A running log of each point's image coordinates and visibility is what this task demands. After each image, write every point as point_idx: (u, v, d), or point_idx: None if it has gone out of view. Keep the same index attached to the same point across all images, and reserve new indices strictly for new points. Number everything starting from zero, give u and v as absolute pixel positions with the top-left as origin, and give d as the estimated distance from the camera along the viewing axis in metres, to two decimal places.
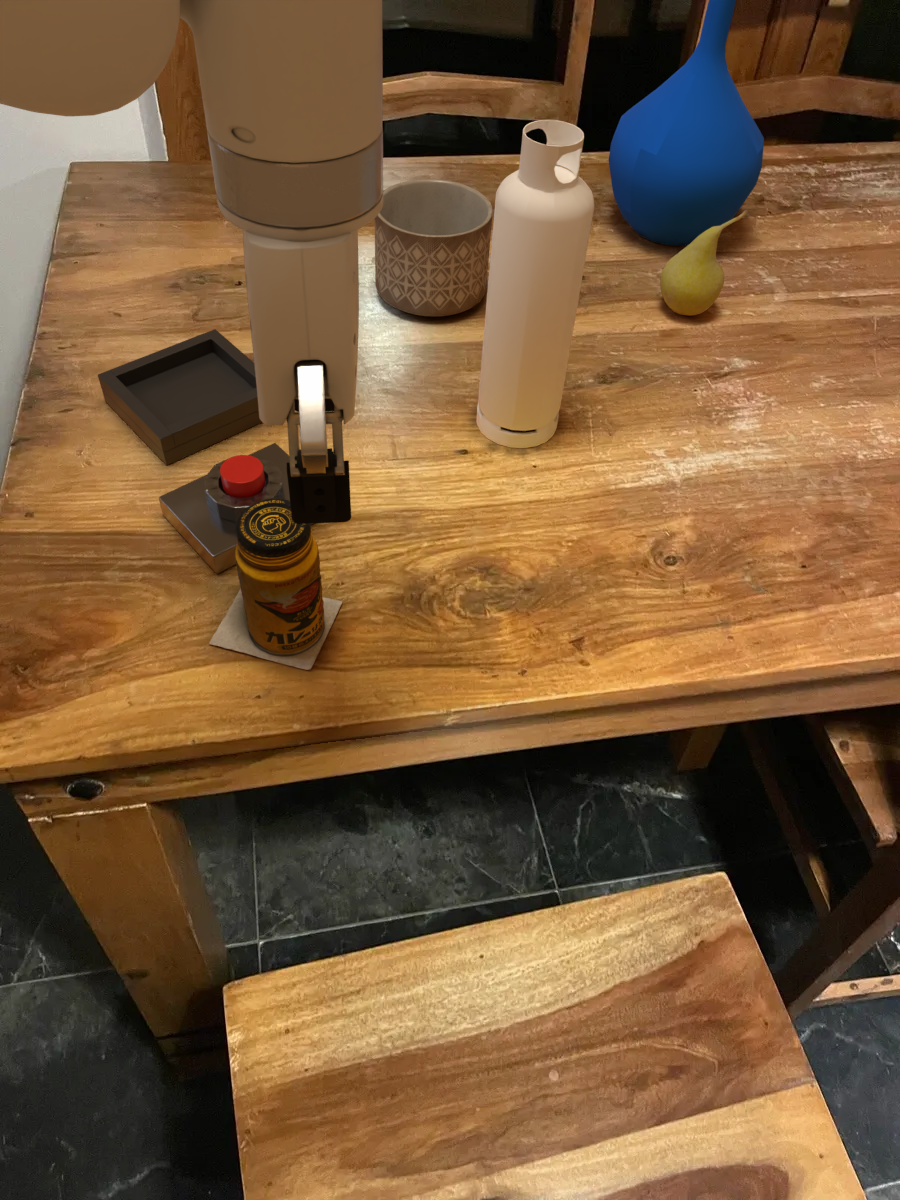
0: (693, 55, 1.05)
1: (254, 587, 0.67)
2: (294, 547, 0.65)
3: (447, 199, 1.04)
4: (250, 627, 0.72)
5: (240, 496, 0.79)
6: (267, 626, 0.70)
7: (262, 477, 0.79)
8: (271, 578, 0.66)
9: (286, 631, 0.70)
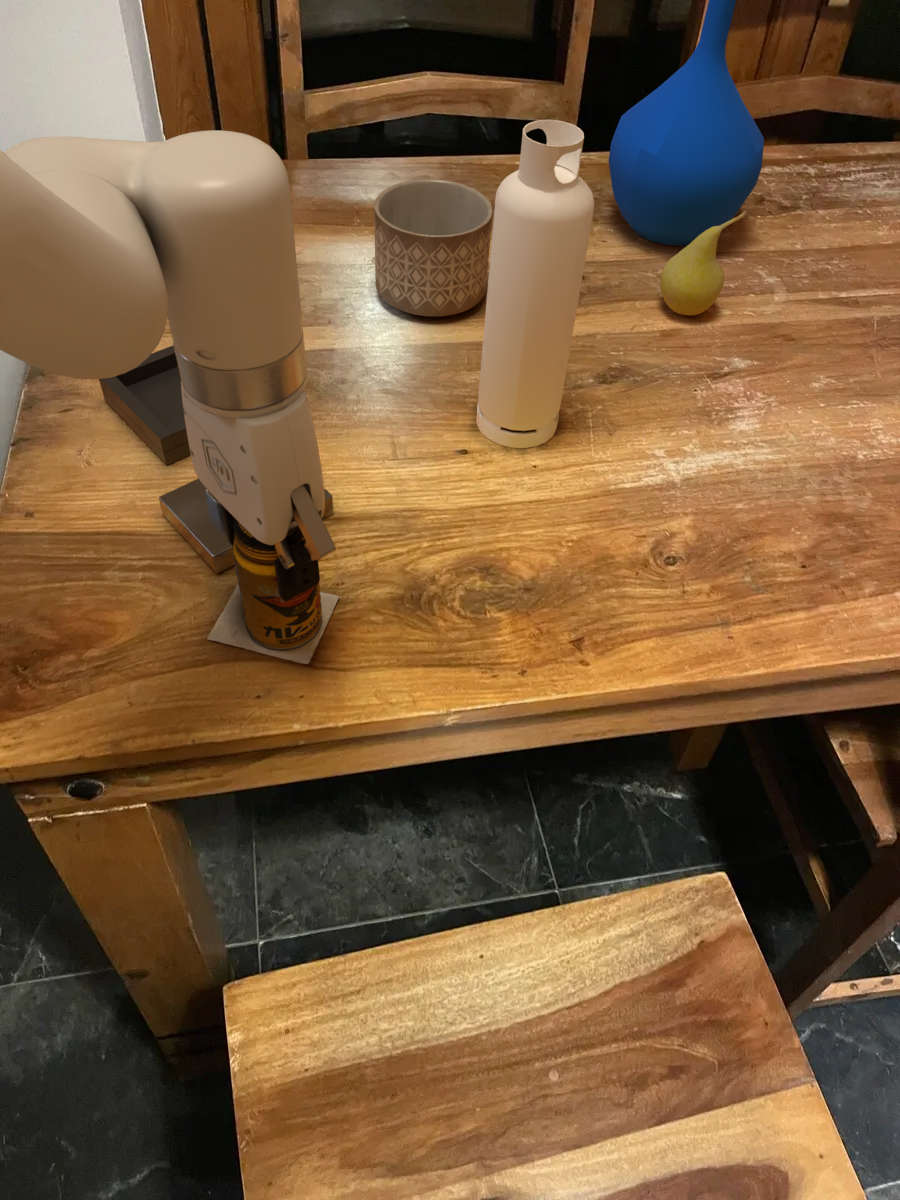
0: (693, 55, 1.05)
1: (252, 581, 0.67)
2: (291, 540, 0.65)
3: (447, 199, 1.04)
4: (248, 622, 0.72)
5: None
6: (265, 621, 0.70)
7: None
8: (269, 572, 0.66)
9: (284, 625, 0.71)
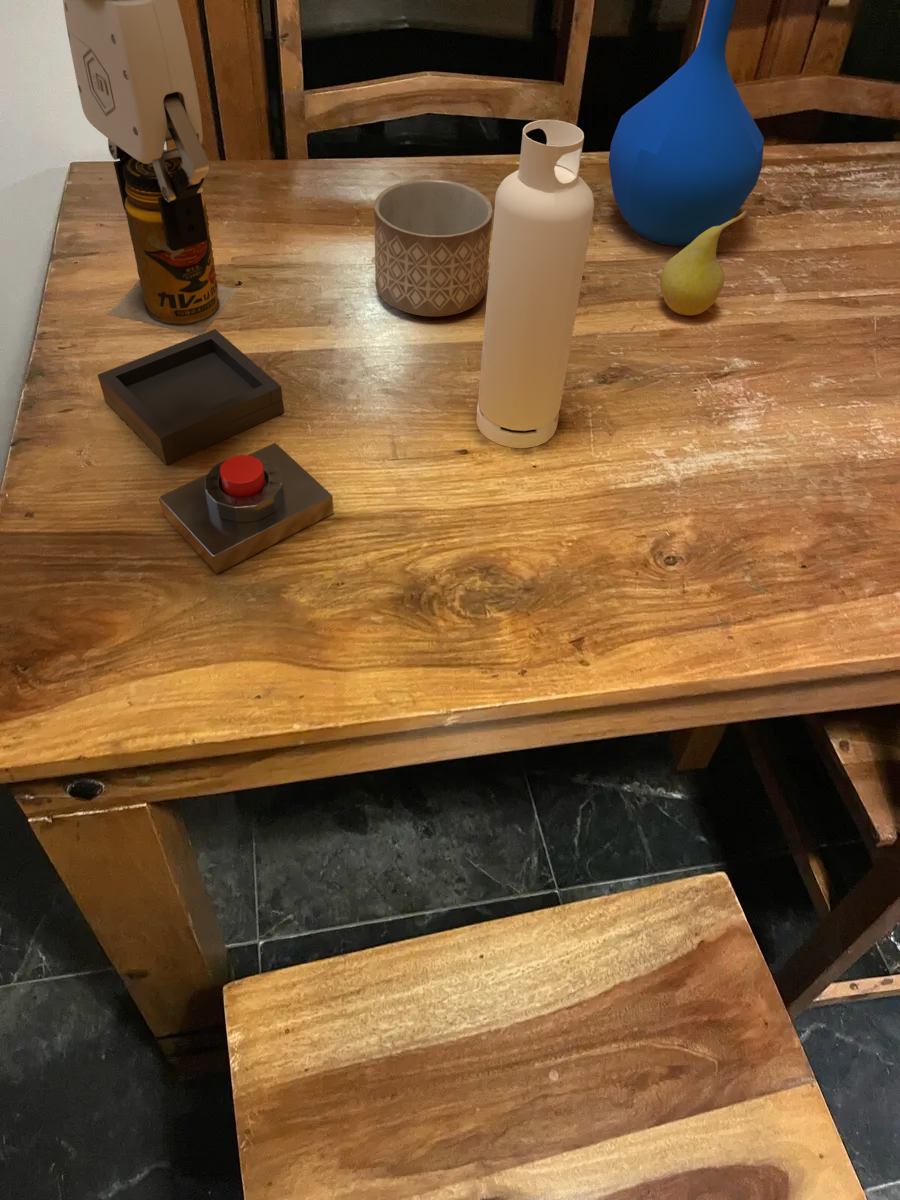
0: (693, 55, 1.05)
1: (142, 231, 0.70)
2: None
3: (447, 199, 1.04)
4: (145, 295, 0.76)
5: (240, 496, 0.79)
6: (158, 285, 0.74)
7: (262, 477, 0.79)
8: (157, 219, 0.70)
9: (177, 290, 0.74)
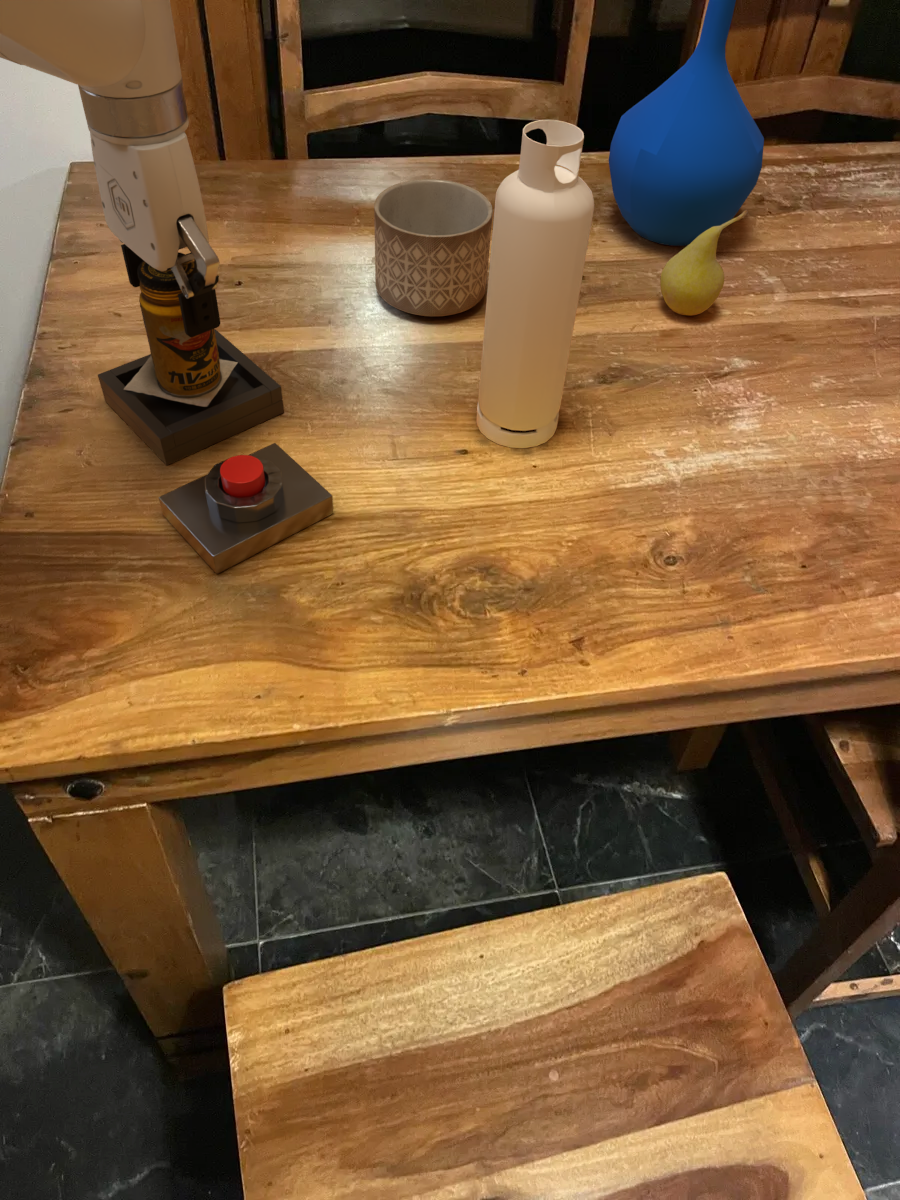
0: (693, 55, 1.05)
1: (154, 323, 0.82)
2: None
3: (446, 199, 1.04)
4: (157, 372, 0.87)
5: (240, 496, 0.79)
6: (169, 365, 0.85)
7: (262, 477, 0.79)
8: (167, 313, 0.81)
9: (185, 370, 0.85)
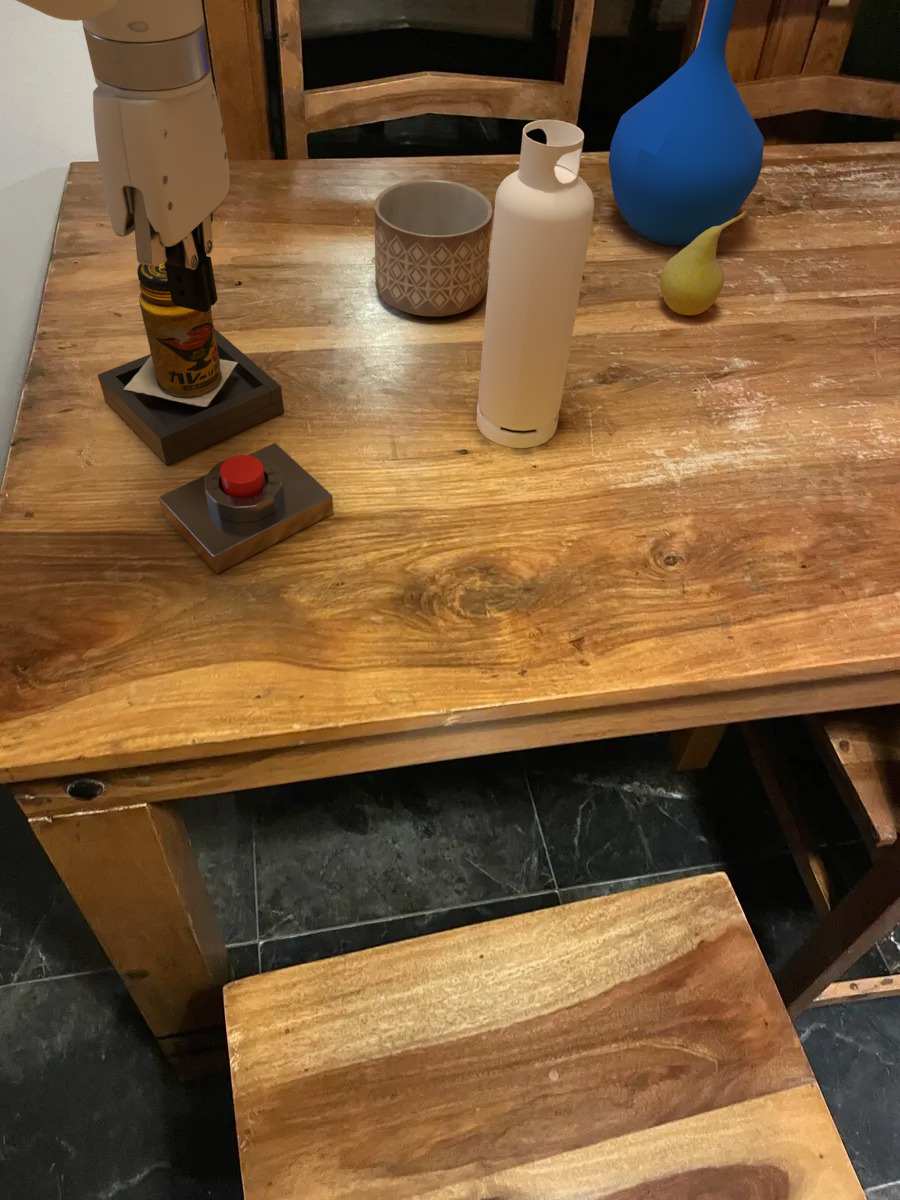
0: (693, 55, 1.05)
1: (154, 323, 0.82)
2: None
3: (447, 199, 1.04)
4: (157, 372, 0.87)
5: (240, 496, 0.79)
6: (169, 365, 0.85)
7: (262, 477, 0.79)
8: (167, 313, 0.81)
9: (185, 370, 0.85)
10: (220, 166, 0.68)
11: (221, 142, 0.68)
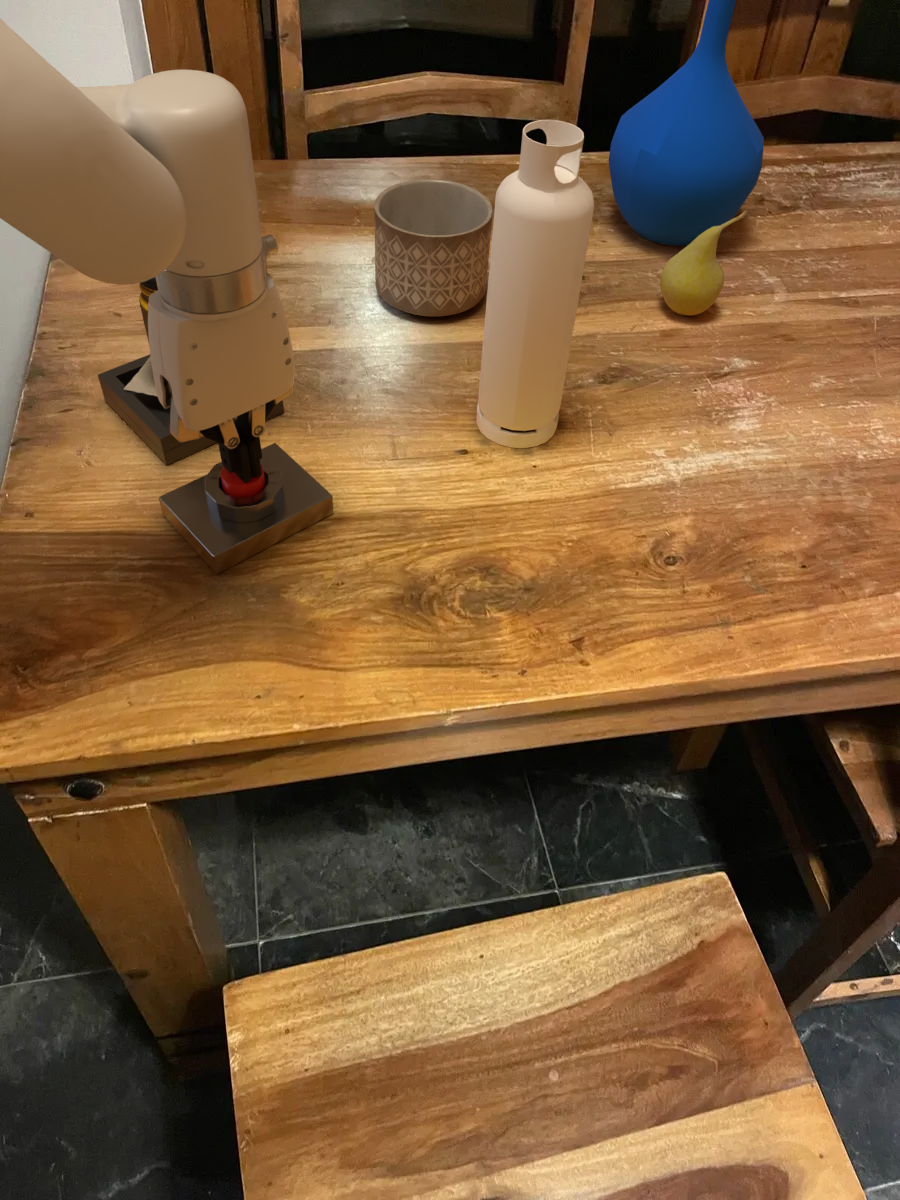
0: (693, 55, 1.05)
1: None
2: None
3: (447, 199, 1.04)
4: None
5: None
6: None
7: (262, 480, 0.79)
8: None
9: None
10: (277, 370, 0.72)
11: (281, 351, 0.71)
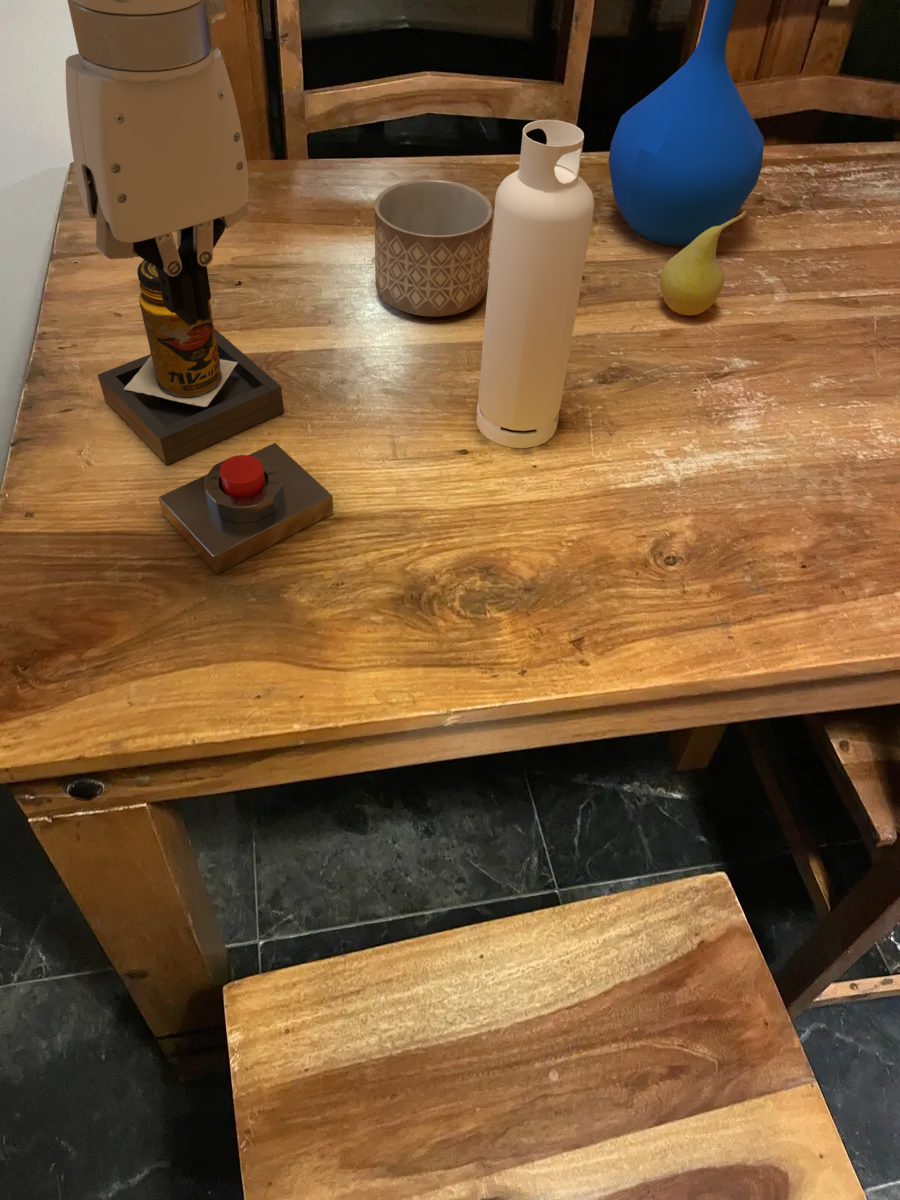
0: (693, 55, 1.05)
1: (154, 323, 0.82)
2: None
3: (447, 199, 1.04)
4: (157, 372, 0.87)
5: (240, 496, 0.79)
6: (169, 365, 0.85)
7: (262, 477, 0.79)
8: (167, 313, 0.81)
9: (185, 370, 0.85)
10: (226, 175, 0.60)
11: (230, 149, 0.59)
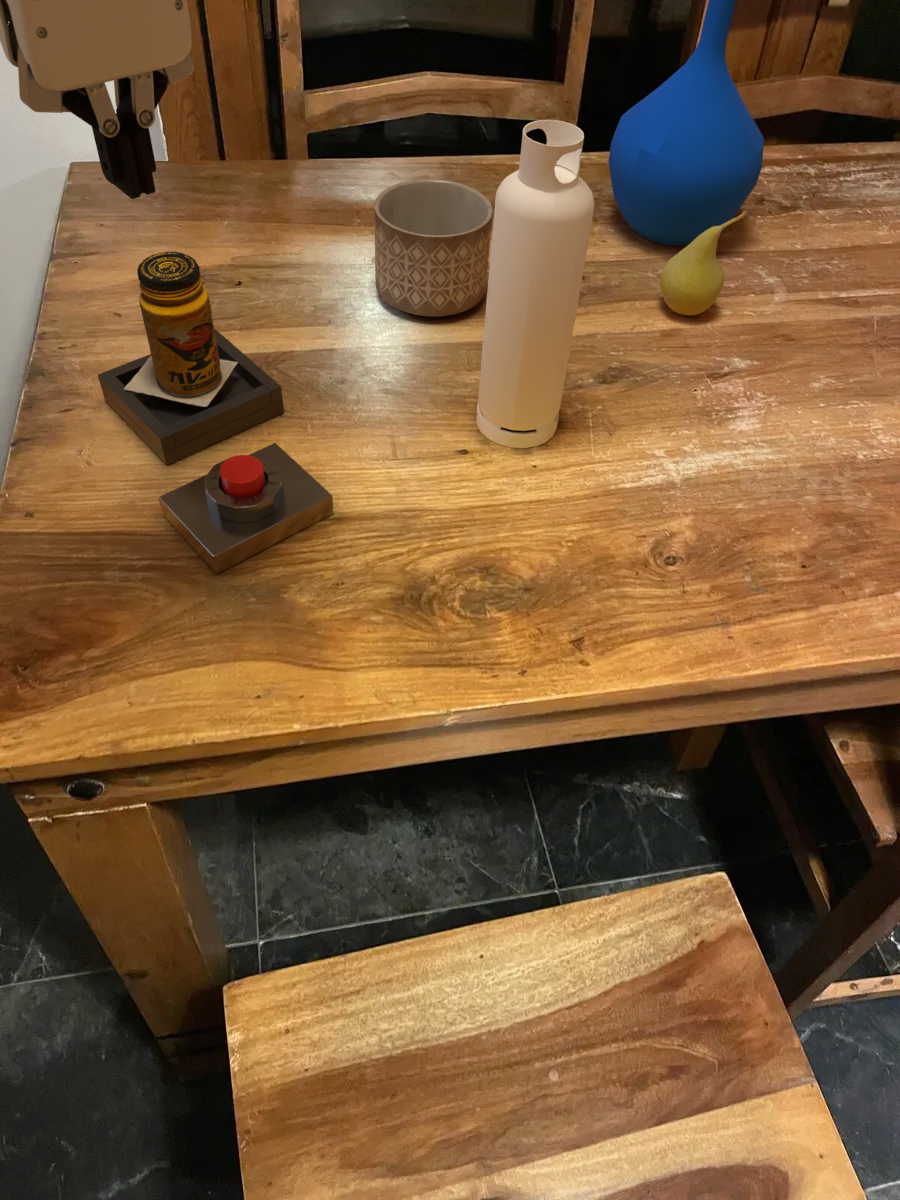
0: (693, 55, 1.05)
1: (154, 323, 0.82)
2: (184, 283, 0.80)
3: (447, 199, 1.04)
4: (157, 372, 0.87)
5: (240, 496, 0.79)
6: (169, 365, 0.85)
7: (262, 477, 0.79)
8: (167, 313, 0.81)
9: (185, 370, 0.85)
10: (163, 14, 0.53)
11: None
